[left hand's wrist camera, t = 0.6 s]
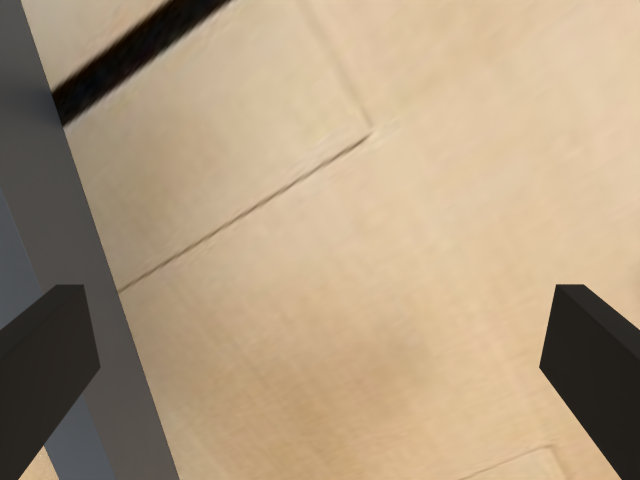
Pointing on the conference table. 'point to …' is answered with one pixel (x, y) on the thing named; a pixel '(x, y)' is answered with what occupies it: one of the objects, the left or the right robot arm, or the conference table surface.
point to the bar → (67, 273)
